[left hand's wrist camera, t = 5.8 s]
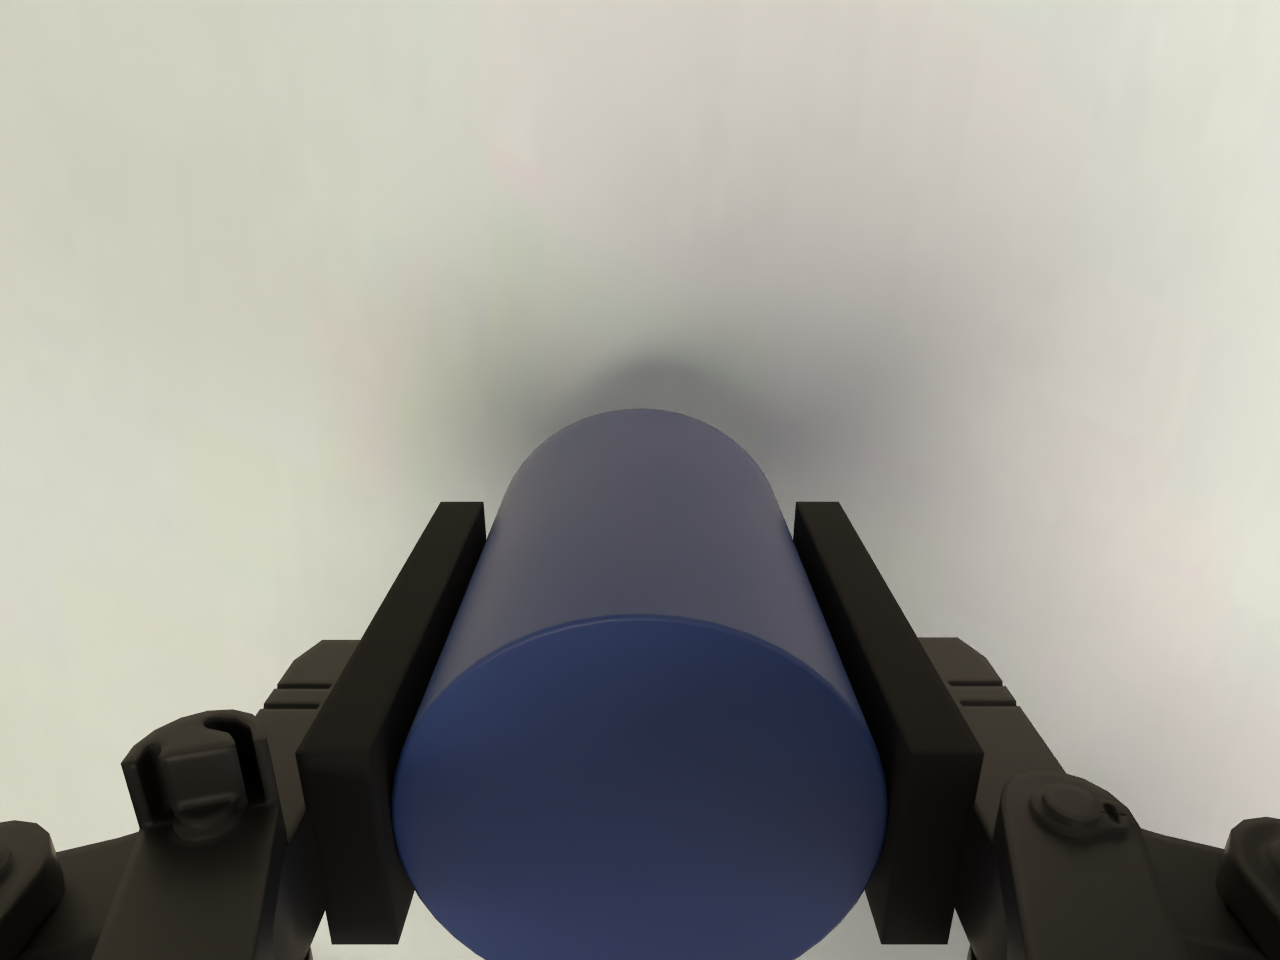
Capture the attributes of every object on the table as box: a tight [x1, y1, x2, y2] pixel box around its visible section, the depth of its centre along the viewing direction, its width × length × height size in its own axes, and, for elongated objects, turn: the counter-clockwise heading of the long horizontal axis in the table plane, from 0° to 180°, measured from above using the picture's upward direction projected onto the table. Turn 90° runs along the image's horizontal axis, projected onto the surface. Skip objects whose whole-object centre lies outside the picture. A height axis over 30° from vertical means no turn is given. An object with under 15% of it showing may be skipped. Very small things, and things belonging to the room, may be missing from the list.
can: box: [391, 409, 888, 960], centre depth 12 cm, size 6×6×7 cm
